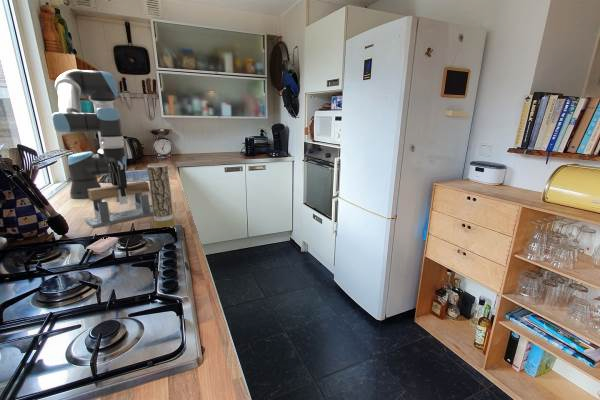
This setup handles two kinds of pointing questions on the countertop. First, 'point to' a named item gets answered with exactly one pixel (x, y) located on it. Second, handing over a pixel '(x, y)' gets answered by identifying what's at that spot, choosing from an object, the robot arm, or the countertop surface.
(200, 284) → the countertop surface
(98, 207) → the cup bracket
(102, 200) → the rest rack
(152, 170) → the bark textured post
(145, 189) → the walnut rail
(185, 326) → the countertop surface
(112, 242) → the soap bar
